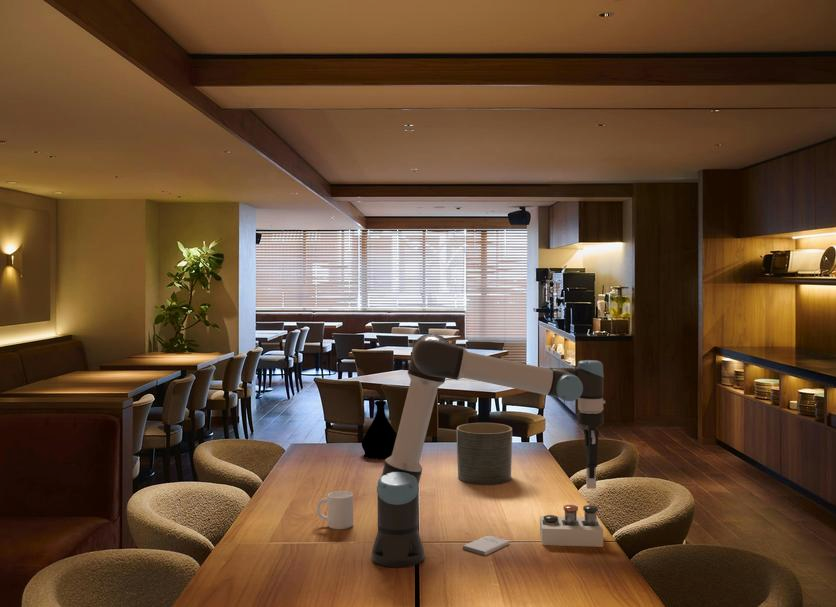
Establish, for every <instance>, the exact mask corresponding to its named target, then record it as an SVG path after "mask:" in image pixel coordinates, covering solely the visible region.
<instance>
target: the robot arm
mask: <svg viewBox="0 0 836 607" xmlns="http://www.w3.org/2000/svg"><path fill="white" fill-rule="evenodd" d="M407 375H408V377H409V379H410V382H409V386H408V390H407V394H406V398H405V401H404V405H403V410H402V413H401V418H400V422H399V425H398V430H397V433H396V435H397V437H396V441H395V445H394V449H393V453H392V455H391V456H390V457H388V458H387V459H384V465H383V469H382V472H381V475H380V477H379V479H378V480H377V485H376V493H377V494H376V495H377V533H376V537H375V540H374V542H373V546H372V548H371V561H372V562H374V564H375V563H376V564H377V565H378V566H383V567H388V568H406V567H412V566H416V565H418V564H420V563H422V562H423V561H424V560H425V549H424V545H423V541H422V539H421V536H420V533H419V492H420V491H419V484H420V481H421V476H422V474H423V473H422V472H423V467H422V465H421V464H420V460H421V457H422V453H423V449H424V448H423V447H424V443H425V441H426V437H427V433H428V432H427V431H428V428H429V425H430V420H431V417H432V413H433V409H434V404H435V401H436V397H437V393H438V389H439V387H440V386H441V385H443V384H444V383H445V382H446V379H450V380H455V381H458V380H461V379H468V380H471V381H472V380H474V381H477V382H483V383H487V384H491V385H497V386H501V387H506V388H511V389H516V390H519V391H520V390H522V391H525V392H530V393H535V394H540V395H545V396H549V397H554V398H559V399H561V400H562V401H565V402H574V401H576V400H577V409H578V410H579V411H578V413H577V414H578V416H577V419H578V420H577V421H578V424H579V425H581V426H585V429H583V435H584V448H585V449H584V454H585V455H584V456H585V460H584V461H585V465H584V468H586V480H585V481H586V489H591V490H592V489H593V490H594V489H597V467H598V446H599V445H598V444H599V431H598V429H597V426H602V425H604V420H605V419H604V417H605V415H604V412H603V411H604V404H606V400H605V399H604V378H605V375H604V364H603V363H602V362H601V361H600V360H593V359H592V360H591V359H585V360H579V361H578V362H577V367H576V366H575V367H546V368H545V367H541V366H535V365H531V364H526V363H523V362H517V361H512V360H509V359H508V360H507V359H504V358H499V357H495V356H489V355H484V354H479V353H476V352H472V351H467V349H466V347H464V346H460V345H456V344H453V343H451V342H449V341H448V340H447V339H446V338H445V337H444V336H442V335H440V334H438V333H426V334H423V335H421V336H420V337H419V338H417V339H416V340H415V342H414V344H413V346H412V351H411V357H410V362H409V365H408V370H407Z"/></svg>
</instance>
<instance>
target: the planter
mask: <svg viewBox="0 0 836 607" xmlns="http://www.w3.org/2000/svg"><path fill="white" fill-rule="evenodd" d="M456 454H457V455H456V458H457V461H456V462H457V478H458V479H459V481H461V482H464V483H468V484H473V485H474V484H475V485H479V486H480V485H483V486H486V485H488V486H489V485H490V486H491V485H500V484H504V483H507V482H509V481H510V480H511V479H512V460H513V456H512V455H513V427H511V426H509V425H507V424H503V423H495V422H474V423H473V422H472V423H465V424H461V425H458V426H457V427H456Z"/></svg>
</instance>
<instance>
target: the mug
mask: <svg viewBox="0 0 836 607" xmlns="http://www.w3.org/2000/svg"><path fill="white" fill-rule="evenodd" d="M326 495H327V496H326V497H324V498H322V499H320V500H319V501H318V503H317V505H316V513H317V516H318V517H319V519H321V520H323V521H327V525H328V527H329V528H330V529H332V530H346V529H350V528H351V527H352V526H353V525H354V494H353V492H351V491H349V490H348V491H345V490H338V491H331V492H329V493H327V494H326ZM325 503H326V504H327V515H325V514H323V513H322V511H321V510H322V508H321V507H322V506H323V504H325Z"/></svg>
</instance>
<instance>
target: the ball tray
mask: <svg viewBox="0 0 836 607" xmlns="http://www.w3.org/2000/svg"><path fill="white" fill-rule="evenodd" d="M544 516H545V515H543V516H542V515H540V516H539V536H540V540H541V544H542V546H559V547H560V546H561V547H563V546H565V547H595V548H596V547H599V548H602V547H604V528H603V526H602V524H601V522H600V520H599V518H598V517H597V526H585V516H583V517H582V516H577V526H565V516H557V517H558V521H557V525H545V521H544Z"/></svg>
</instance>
